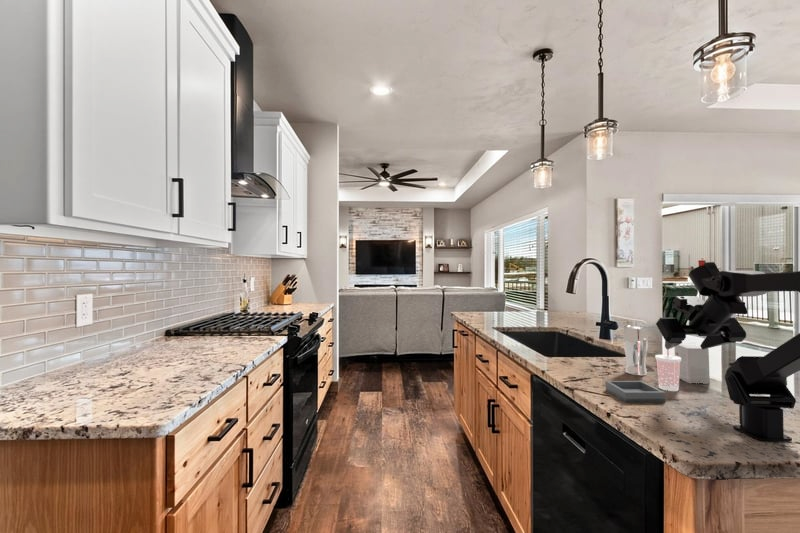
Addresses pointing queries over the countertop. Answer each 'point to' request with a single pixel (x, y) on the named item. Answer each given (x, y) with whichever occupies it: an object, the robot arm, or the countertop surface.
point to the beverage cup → (668, 371)
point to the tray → (635, 391)
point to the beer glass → (635, 349)
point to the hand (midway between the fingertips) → (684, 347)
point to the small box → (693, 363)
